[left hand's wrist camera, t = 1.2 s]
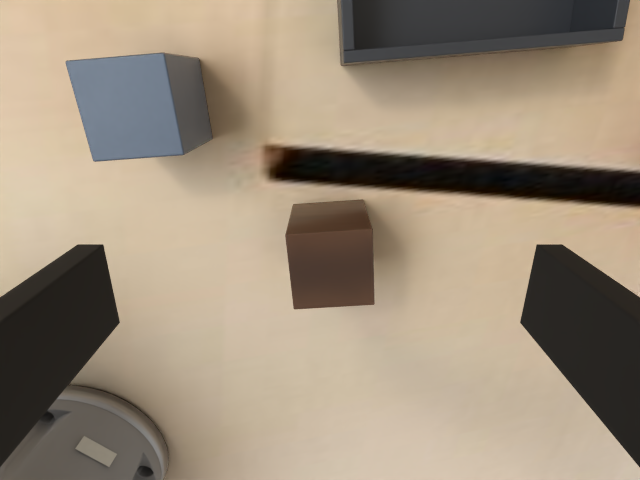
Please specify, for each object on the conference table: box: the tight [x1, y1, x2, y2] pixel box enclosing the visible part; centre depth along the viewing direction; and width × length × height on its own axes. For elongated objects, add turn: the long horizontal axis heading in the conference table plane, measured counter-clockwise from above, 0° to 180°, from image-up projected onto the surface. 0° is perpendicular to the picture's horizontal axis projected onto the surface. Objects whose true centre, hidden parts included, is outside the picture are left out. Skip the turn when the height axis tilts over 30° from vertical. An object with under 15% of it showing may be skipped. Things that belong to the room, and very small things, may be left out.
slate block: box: [66, 53, 212, 162], centre depth 24 cm, size 5×5×6 cm
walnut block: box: [285, 200, 375, 309], centre depth 27 cm, size 5×5×6 cm
